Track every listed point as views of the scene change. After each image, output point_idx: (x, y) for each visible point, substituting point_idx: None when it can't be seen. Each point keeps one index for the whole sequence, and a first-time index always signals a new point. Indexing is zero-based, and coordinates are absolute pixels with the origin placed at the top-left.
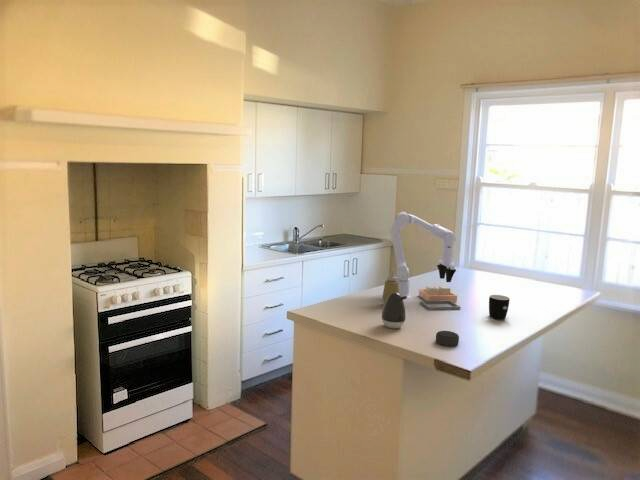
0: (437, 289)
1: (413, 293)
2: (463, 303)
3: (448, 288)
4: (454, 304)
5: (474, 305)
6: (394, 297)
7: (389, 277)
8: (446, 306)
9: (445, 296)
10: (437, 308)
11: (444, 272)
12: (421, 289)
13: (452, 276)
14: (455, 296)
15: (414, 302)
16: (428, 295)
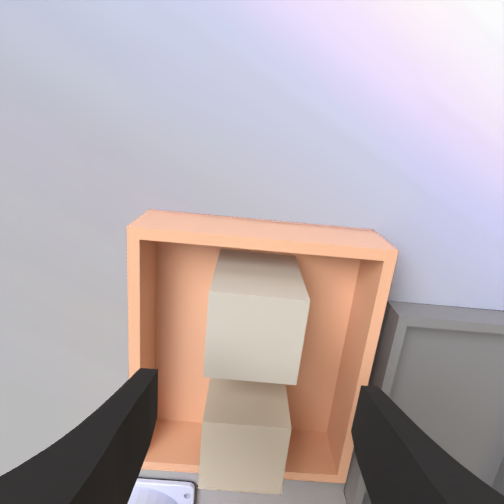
0: (289, 423)
1: (59, 415)
2: (393, 168)
3: (306, 322)
4: (492, 330)
5: (480, 95)
6: None
7: None
8: (461, 376)
9: (370, 358)
10: None
11: (120, 447)
12: None
13: (445, 453)
14: (390, 265)
15: (288, 498)
16: (327, 480)
